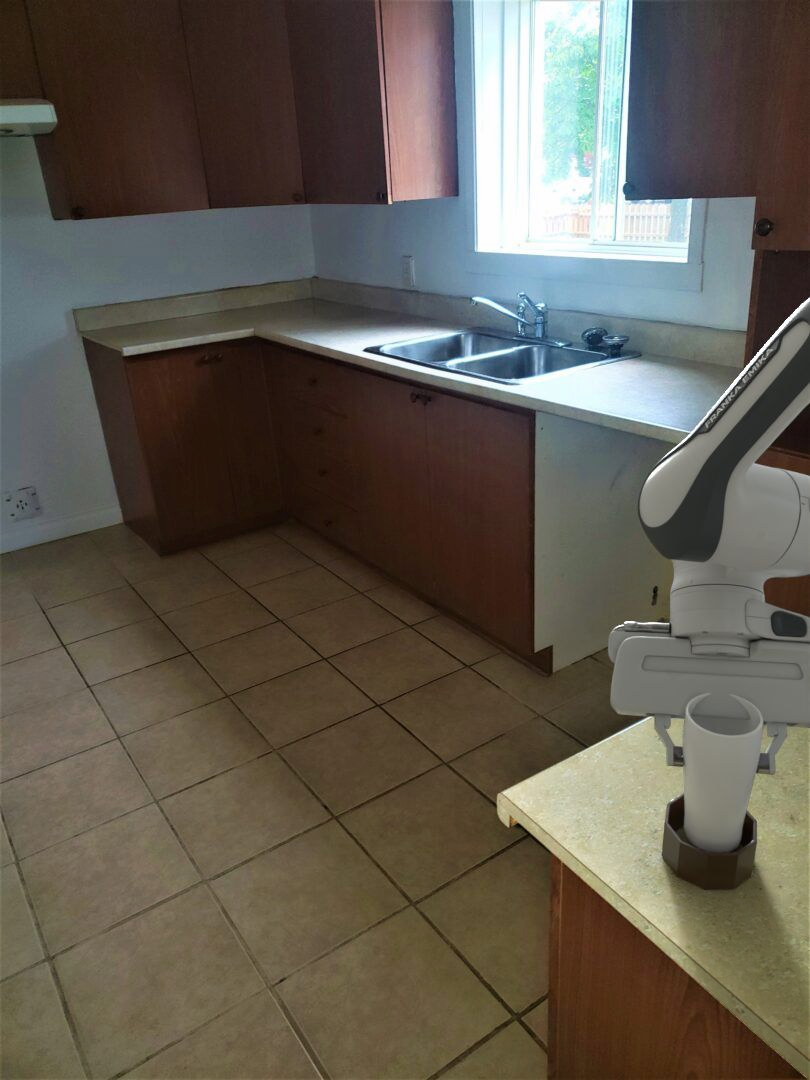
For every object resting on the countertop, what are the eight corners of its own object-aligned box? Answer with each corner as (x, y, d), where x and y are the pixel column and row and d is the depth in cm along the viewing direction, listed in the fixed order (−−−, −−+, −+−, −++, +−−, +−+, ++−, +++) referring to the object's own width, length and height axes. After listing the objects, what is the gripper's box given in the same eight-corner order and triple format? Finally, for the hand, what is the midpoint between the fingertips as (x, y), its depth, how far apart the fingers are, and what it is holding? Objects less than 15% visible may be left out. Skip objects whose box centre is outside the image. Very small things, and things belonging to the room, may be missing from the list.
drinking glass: (764, 841, 79) (781, 717, 73) (716, 874, 76) (729, 748, 70) (707, 801, 85) (719, 682, 78) (661, 830, 82) (668, 709, 75)
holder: (752, 832, 84) (757, 799, 82) (751, 900, 77) (757, 865, 75) (666, 815, 87) (669, 782, 85) (658, 879, 80) (661, 845, 78)
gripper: (608, 612, 80) (605, 757, 76) (837, 622, 75) (848, 778, 71) (608, 627, 86) (605, 762, 81) (820, 637, 81) (829, 782, 77)
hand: (720, 770), depth 76 cm, fingers closed on drinking glass, 6 cm apart
